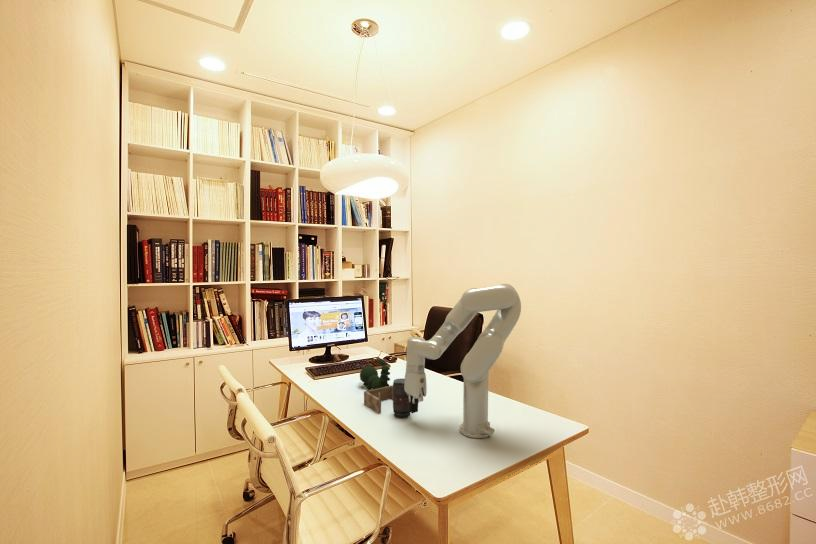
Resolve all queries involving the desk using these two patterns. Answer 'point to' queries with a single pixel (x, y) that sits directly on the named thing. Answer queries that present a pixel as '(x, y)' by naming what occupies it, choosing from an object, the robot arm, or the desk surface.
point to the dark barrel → (400, 400)
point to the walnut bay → (377, 397)
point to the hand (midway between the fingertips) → (413, 411)
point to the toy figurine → (375, 376)
